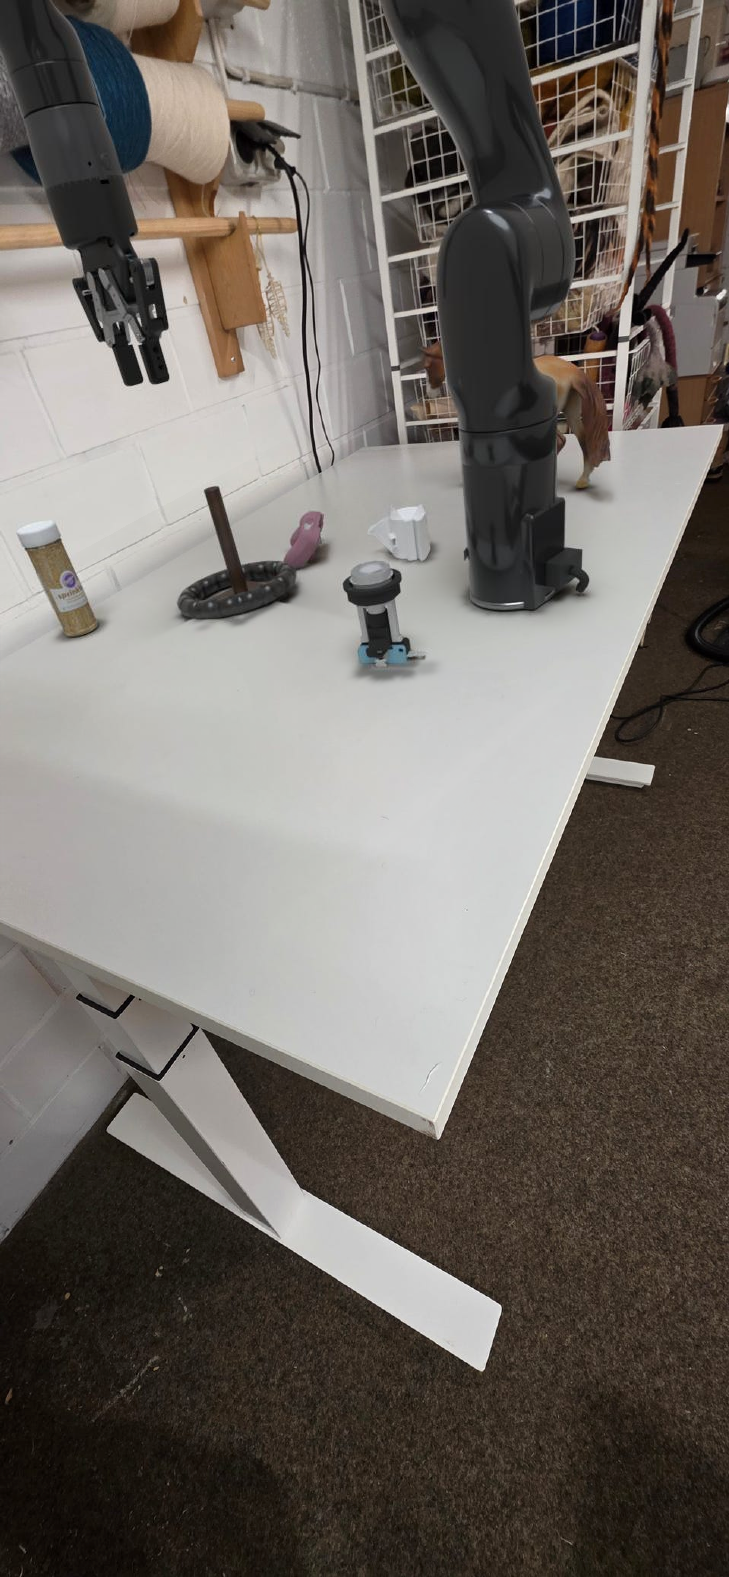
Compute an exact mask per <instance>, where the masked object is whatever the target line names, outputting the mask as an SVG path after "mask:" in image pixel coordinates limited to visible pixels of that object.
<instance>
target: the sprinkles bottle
mask: <svg viewBox="0 0 729 1577" xmlns="http://www.w3.org/2000/svg"><path fill="white" fill-rule="evenodd" d="M59 530H60V529H59V528H58V526H57V524H56V522H55V521H53V520H50V519H47V520H40V521H35V522H32V523H29V524H27V525H23V526H22V527H20V528H18V530H17V531H16V536H17V537H18V540H19V542H20V544H21V546H22V547H23V548H24V551H25V552H26V553H27V556H28V558H29V559H30V562H31V564H32V567H33V569H34V570H35V574H36V576H37V579H38V581H39V582H40V585H41V587H42V589H43V591H44V593H45V596H46V597H47V600H48V602H49V603H50V606H51V608H52V610H53V612H54V613H55V615H56V617H57V619H58V621H59V623H60V625H61V627H62V630H63V631H62V632H63V634H64V635H65V636H67V637H72V638H73V637H79V636H83V635H86V634H88V633H90V632H92V631H94V630H95V629H97V627H98V626H99V621H98V619H97V618H96V616H95V614H94V611H93V609H92V607H91V605H90V602H89V598H88V596H87V594H86V592H85V590H84V587H83V585H82V582H81V580H80V578H79V576H78V574H77V571H76V570H75V568H74V564H73V563H72V561H71V559H70V557H69V554H68V552H67V550H66V548H65V545H64V543H63V539H62V538H61V536H62V535H61V532H60V531H59Z"/></svg>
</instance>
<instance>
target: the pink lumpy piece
mask: <svg viewBox="0 0 729 1577" xmlns="http://www.w3.org/2000/svg"><path fill="white" fill-rule="evenodd" d="M324 518H325V513H322V512H321V511H317V510H314V511H313V510H312V511H311V510H310V509H309V510H308V512H306V513H304V514H303V515H302V516H301V517H300V519H299V526H298V527H297V528H296V529H295V530H294V531H293V533H292V535H291V537H290V539H289V543H290V547H291V548H289V550H288V551H287V552H286V554H285V555H284V558H283V561H284V562H286V563H288V564H290V565H291V566H293V567H294V568H295V569H299V568H301V567H302V566H303V565H305V564H306V563H307V562H308V561H310V562H313V560H314V557H315V553H316V550H317V549H319V547H320V548H321V547H322V546H323V545H324V542H325V539H324V537H322V535H321V532H322V531H323V528H324Z"/></svg>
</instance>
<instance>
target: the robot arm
mask: <svg viewBox="0 0 729 1577" xmlns="http://www.w3.org/2000/svg"><path fill="white" fill-rule="evenodd" d="M379 1H380V5H381V9H382V13H383V15H384V19H385V22H386V24H387V28H388V30H389V32H390V36H391V37H392V40H393V42H394V44H395V46H396V48H397V50H398V52H399V54H400V56H401V58H402V60H403V61H404V64H405V65H406V68H408V70H409V72H410V73H411V75H412V77H413V78H414V80H415V82H416V84H417V85H418V86H419V88H420V90H421V91H422V93H423V94H424V96H425V98H426V100H428V102H429V103H430V105H431V107H432V109H433V110H434V111H435V113H436V115H437V116H438V117H439V120H440V121H441V122H442V124H443V126H444V127H445V129H446V130H447V133H448V134H449V136H450V138H451V139H452V142H453V144H454V146H455V148H456V150H457V152H458V154H459V157H460V160H461V162H462V165H463V169H464V172H465V174H466V177H467V181H468V184H469V185H468V186H469V190H470V192H471V196H472V200H473V205H472V206H470V207H468V208H466V209H464V210H462V211H461V212H460V213H459V214H457V215H456V216H455V218H454V219H453V220H452V221H451V223H450V224H449V225H448V227H447V228H446V230H445V232H444V234H443V237H442V240H441V242H440V246H439V248H438V252H437V258H436V266H435V268H436V269H435V300H436V301H435V302H436V311H437V319H438V321H437V322H438V329H439V335H440V336H439V337H440V340H441V345H442V353H443V361H444V369H445V376H446V377H445V383H446V388H447V391H448V395H449V397H450V399H451V401H452V403H453V405H454V408H455V411H456V416H457V424H458V425H457V426H458V439H459V440H458V441H459V452H460V467H461V468H460V470H461V481H462V482H461V483H462V494H463V509H464V523H465V535H466V537H465V539H466V547H465V549H464V550H463V562H465V561H466V560H467V563H468V576H469V577H468V578H469V598H470V601H471V602H472V603H473V604H475V605H476V606H478V607H480V608H484V609H489V610H496V611H511V610H521V609H525V610H532V611H533V610H536V609H538V608H539V606H541V605H542V604H544V603H546V602H547V601H549V600H550V599H551V598H553V597H554V596H555V595H556V594H558V593H559V592H560V591H562V590H564V588H565V586H566V585H568V584H569V583H570V582H572V581H573V580H575V579H577V580H578V583H577V584H576V585H575V588H574V589H575V591H576V592H577V593H583V592H585V591H586V589H587V588H588V586H589V584H590V577H589V575H588V573H587V571H585V570H584V569H583V548H576V547H575V548H574V547H569V546H568V547H567V546H566V499H565V497H563V496H558V493H557V492H558V455H557V429H558V416H559V414H557V412H558V390H557V384H556V382H555V380H554V379H553V378H552V377H550V376H548V375H545V374H542V373H541V372H540V371H539V370H538V369H537V367H536V365H535V363H534V359H535V358H534V350H533V338H532V328H533V327H534V326H538V325H541V324H542V323H545V322H546V321H547V320H549V319H551V318H552V317H553V316H555V314H556V313H557V312H558V311H559V310H560V309H561V307H562V306H563V304H564V303H565V301H566V299H567V297H568V295H569V292H570V290H571V287H572V284H573V280H574V275H575V270H576V243H575V242H576V241H575V235H574V229H573V225H572V224H573V223H572V220H571V217H570V212H569V210H568V205H567V202H566V198H565V195H564V192H563V189H562V185H561V182H560V179H559V176H558V173H557V169H556V166H555V163H554V160H553V156H552V153H551V149H550V146H549V143H548V140H547V136H546V133H545V128H544V126H543V123H542V119H541V116H540V111H539V108H538V105H537V101H536V97H535V93H534V92H535V91H534V87H533V83H532V78H531V73H530V68H529V64H528V63H529V62H528V57H527V52H526V48H525V43H524V39H523V34H522V29H521V25H520V20H519V16H518V12H517V6H516V1H515V0H379ZM84 51H85V50H84V48H83V45H82V43H81V40H80V37H79V35H78V32H77V31H76V29H75V27H74V26H73V24H72V23H71V22H70V20H68V19H67V18H66V16H65V15H64V14H63V13H62V12H61V11H60V10H59V9H58V8H57V6H56V5H55V3H53V1H52V0H0V56H1V59H2V61H3V64H4V68H5V71H6V73H7V78H8V79H9V83H10V85H11V88H12V91H13V94H14V97H15V100H16V103H17V106H18V109H19V112H20V115H21V118H22V120H23V124H24V128H25V131H26V135H27V139H28V143H29V148H30V152H31V155H32V158H33V161H34V164H35V168H36V170H37V173H38V176H39V178H40V182H41V184H42V187H43V190H44V194H45V196H46V199H47V201H48V205H49V208H50V210H51V213H52V216H53V219H54V223H55V225H56V228H57V230H58V233H59V236H60V240H61V243H62V245H63V246H64V247H65V249H67V250H70V251H77V252H78V253H79V256H80V260H81V265H82V266H81V267H82V271H83V275H82V276H79V277H74V278H72V280H71V283H72V287H73V289H74V291H75V294H76V296H77V298H78V301H79V302H80V305H81V307H82V310H83V312H84V314H85V316H86V318H87V321H88V322H89V325H90V327H91V329H92V332H93V334H94V336H95V339H96V340H97V341H98V342H99V343H103V342H104V343H106V344H105V345H107V347H108V348H109V349H112V353H113V355H114V359H115V361H116V364H117V367H118V371H119V373H120V376H121V379H122V382H123V385H124V386H125V387H133V386H138V385H141V384H143V383H144V376H143V373H142V370H141V366H140V363H139V360H138V357H137V354H136V350H135V348H134V344H133V343H132V344H131V342H132V339H131V332H130V329H131V330H132V333H133V335H134V337H135V340H136V341H137V343H139V344H138V345H137V347H138V350H139V353H140V357H141V360H142V364H143V367H144V370H145V372H146V376H147V378H148V382H149V383H150V384H151V385H152V386H153V385H155V386H156V385H161V384H163V383H164V384H165V383H167V382H169V380H170V373H169V368H168V366H167V363H166V362H167V361H166V359H165V356H164V352H163V349H162V345H161V340H160V339H162V334H163V332H165V331H168V330H169V326H170V325H169V319H168V313H167V309H166V302H165V296H164V291H163V285H162V279H161V274H160V267H159V262H158V261H157V259H156V258H155V257H148V258H147V257H146V258H141V257H139V256H138V254H137V252H136V251H135V249H134V247H133V244H132V242H131V240H132V239H134V238H136V237H137V235H138V234H139V227H138V223H137V220H136V216H135V212H134V210H133V205H132V203H131V199H130V196H129V191H128V188H127V185H126V182H125V178H124V175H123V170H122V168H121V165H120V161H119V158H118V153H117V151H116V150H117V149H116V148H115V143H114V141H113V138H112V135H111V133H110V130H109V128H108V125H107V123H106V120H105V118H104V115H103V111H102V109H101V107H100V106H101V105H100V101H99V98H98V95H97V91H96V88H95V84H94V81H93V77H92V74H91V70H90V67H89V64H88V61H87V57H86V54H85V52H84ZM154 309H155V315H156V317H155V315H154V313H153V310H154ZM139 319H140V321H139ZM100 323H101V324H100Z"/></svg>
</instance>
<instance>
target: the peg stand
mask: <svg viewBox="0 0 729 1577" xmlns="http://www.w3.org/2000/svg"><path fill="white" fill-rule="evenodd" d="M203 492H204V497H205V499H206V502H207V506H208V510H209V513H210V516H211V520H212V523H213V527H214V530H215V532H216V537H217V540H218V543H219V547H220V550H221V553H222V554H221V555H222V558H223V560H224V564H225V567H226V569H227V570H228V574H229V577H230V581H231V584H232V586H231V588H229V589H227V590H225V591H223V592H221V593H219V594H217V595H215V596H213V597H211V598H209V599H208V600H212V599H219V598H224V597H228V596H232V595H236V594H240V593H243V592H245V591H248V590H251V589H254V588H257V587H259V586H261V585H263V584H264V583H262V582H257V581H255V580H251V581H250V580H247V581H246V580H245V577H244V573H243V569H242V566H241V565H242V563H241V559H240V556H239V552H238V549H237V545H236V542H235V538H234V534H233V531H232V527H231V523H230V521H229V517H228V513H227V509H226V506H225V503H224V502H225V501H224V500H223V499H224V498H223V495H222V491H221V488H220V486H219V485H212V486H208V487H206V488H204V489H203ZM287 597H289V594H288V592H286V593H285V594H284V595H283V596H281V597H279V598H277V599H276V600H274V601H275V602H280V601H282V600H284V599H285V598H287Z"/></svg>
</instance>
